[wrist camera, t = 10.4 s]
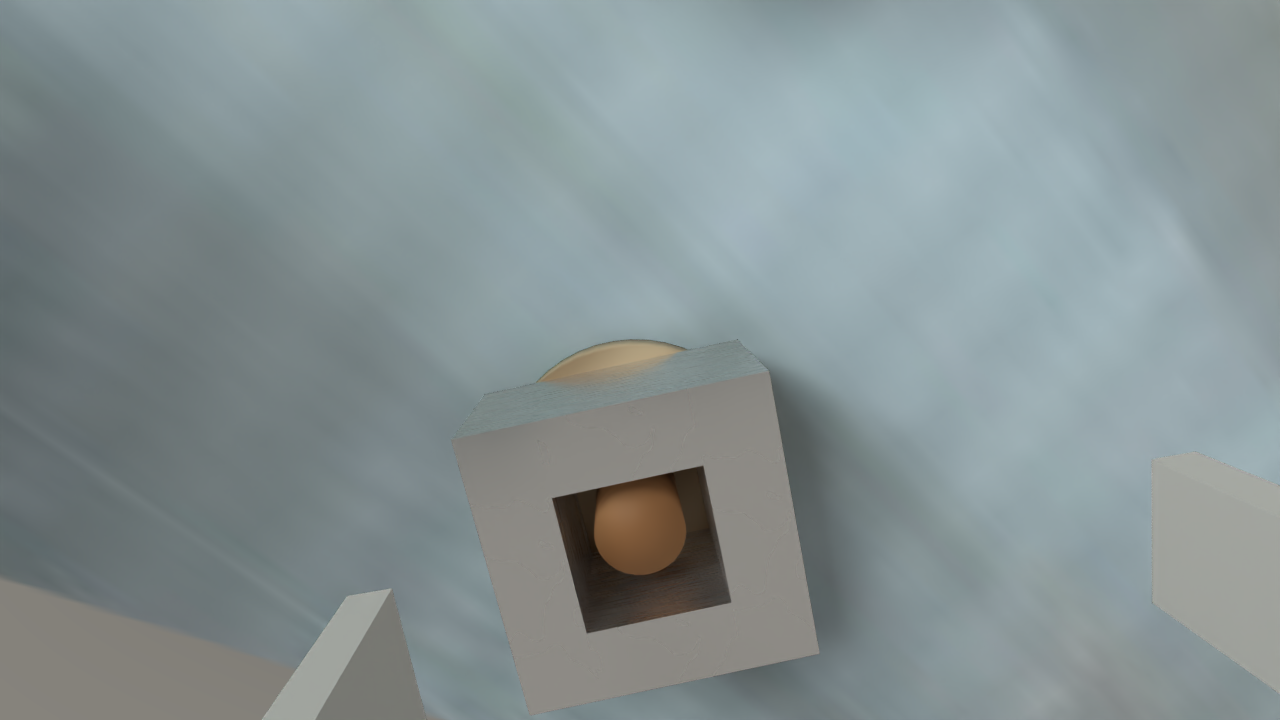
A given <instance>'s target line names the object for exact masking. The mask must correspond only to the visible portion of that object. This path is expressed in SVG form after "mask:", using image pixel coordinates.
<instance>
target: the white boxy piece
mask: <svg viewBox="0 0 1280 720" xmlns="http://www.w3.org/2000/svg"><path fill="white" fill-rule="evenodd" d="M451 441H452V445H453V448H454V452H455V455H456V459H457V462H458V466H459V469H460V473H461V476H462V480H463V483H464V487H465V490H466V494H467V497H468V501H469V504H470V508H471V511H472V515H473V518H474V522H475V525H476V529H477V532H478V536H479V539H480V543H481V546H482V550H483V553H484V557H485V560H486V564H487V567H488V571H489V574H490V578H491V581H492V585H493V588H494V592H495V595H496V599H497V602H498V606H499V609H500V613H501V616H502V620H503V623H504V627H505V630H506V634H507V637H508V641H509V644H510V648H511V651H512V655H513V658H514V662H515V665H516V669H517V672H518V676H519V679H520V683H521V686H522V690H523V693H524V697H525V700H526V704H527V707H528V711H529V714H530V715H535V714H539V713H544V712H549V711H553V710H558V709H563V708H568V707H572V706H577V705H582V704H586V703H591V702H596V701H600V700H605V699H610V698H614V697H619V696H624V695H629V694H633V693H638V692H643V691H647V690H652V689H657V688H661V687H666V686H671V685H675V684H680V683H685V682H690V681H694V680H699V679H704V678H708V677H713V676H718V675H722V674H727V673H732V672H736V671H741V670H746V669H751V668H755V667H760V666H765V665H769V664H774V663H779V662H783V661H788V660H793V659H797V658H802V657H807V656H812V655H816V654H820V653H819V647H818V641H817V636H816V630H815V625H814V619H813V613H812V608H811V602H810V597H809V591H808V585H807V580H806V574H805V569H804V563H803V557H802V552H801V546H800V541H799V535H798V529H797V524H796V518H795V513H794V507H793V501H792V496H791V490H790V485H789V479H788V473H787V468H786V462H785V457H784V451H783V445H782V440H781V434H780V429H779V423H778V418H777V412H776V406H775V401H774V395H773V390H772V384H771V378H770V373H769V370H768V369H767V368H766V367H765V366H764V365H763V364H762V363H761V362H760V361H759V360H758V359H757V358H756V357H755V356H754V355H753V354H752V353H751V352H750V351H749V350H748V349H747V348H746V347H745V346H744V345H743V344H742V343H741V342H740V341H739V340H738V339H737V340H732V341H728V342H723V343H718V344H714V345H709V346H705V347H700V348H695V349H691V350H686V351H681V352H677V353H672V354H668V355H663V356H658V357H654V358H649V359H645V360H640V361H635V362H631V363H626V364H622V365H617V366H612V367H608V368H603V369H599V370H594V371H589V372H585V373H580V374H575V375H571V376H566V377H562V378H557V379H552V380H548V381H543V382H539V383H534V384H529V385H525V386H520V387H516V388H511V389H506V390H502V391H497V392H493V393H488V394H484V396H483V397H482V398H481V400H480V401H479V403H478V404H477V405H476V407H475V408H474V409H473V411H472V412H471V413H470V415H469V416H468V418H467V419H466V420H465V422H464V423H463V424H462V426H461V427H460V428H459V430H458V431H457V432H456V434H455V435H454V437H453V438H452V439H451ZM694 467H696V468H697V473H698V478H699V482H700V487H701V492H702V497H703V502H704V507H705V511H706V516H707V521H708V526H709V528H706V529H701V530H697V531H692V532H687V533H686V538H685V543H684V546H683V548H682V550H681V552H680V554H679V555H678V557H677V558H676V559H675V560H674V561H673V562H672V563H671V564H670V565H668V566H667V567H665V568H664V569H662V570H660V571H657V572H655V573H651V574H646V575H633V574H628V573H624V572H621V571H619V570H617V569H615V568H613V567H612V566H611V565H609V564H608V563H607V562H606V561H605V560H604V559H603V557H602V556H601V555H600V553H599V552H594V553H592V551H591V547H590V542H589V538H588V534H587V530H586V526H585V522H584V518H583V514H582V510H581V506H580V502H579V498H578V494H577V493H578V492H583V491H587V490H592V489H597V488H601V487H606V486H611V485H615V484H620V483H625V482H629V481H634V480H638V479H643V478H648V477H652V476H657V475H662V474H666V473H671V472H676V471H680V470H685V469H689V468H694Z"/></svg>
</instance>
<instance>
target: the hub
mask: <svg viewBox="0 0 1280 720" xmlns="http://www.w3.org/2000/svg"><path fill="white" fill-rule="evenodd" d="M686 350H687V349H684V348H682V347H679V346H675V345H672V344H668V343H665V342H658V341H652V340H632V339H630V340H620V341H612V342H607V343H603V344H599V345H595V346H592V347H590V348H587V349H584V350H582V351H579V352H577V353H575V354H573V355H571V356H570V357H568V358H566V359H564V360H562V361H561V362H560V363H558V364H557V365H555V366H554V367H553V368H551V369H550V370H549V371H548V372H546V373H545V374H544V375H543V376H542V377H541V378H540V379H539V380H538V381H537V382H536V383H539V382H543V381H548V380H552V379H557V378H562V377H566V376H571V375H575V374H580V373H585V372H589V371H594V370H599V369H603V368H608V367H612V366H617V365H622V364H626V363H631V362H635V361H640V360H645V359H649V358H654V357H658V356H663V355H668V354H672V353H677V352H681V351H686ZM577 494H578V498H579V502H580V506H581V510H582V514H583V518H584V522H585V526H586V530H587V534H588V538H589V542H590V547H591V551H592V553H594V552H599V553H600V555H601V556H602V557H603V559H604V560H605V561H606V562H607V563H608V564H609V565H611V566H612V567H613V568H615V569H617V570H619V571H621V572H624V573H628V574H633V575H646V574H651V573H655V572H657V571H660V570H662V569H664V568H665V567H667V566H668V565H670V564H671V563H672V562H673V561H674V560H675V559H676V558H677V557H678V555H679V554H680V552H681V550H682V548H683V546H684V543H685V538H686V533H687V532H692V531H697V530H701V529H706V528H709V526H708V521H707V516H706V511H705V507H704V502H703V497H702V492H701V487H700V482H699V478H698V473H697V468H696V467H694V468H689V469H685V470H680V471H676V472H671V473H666V474H662V475H657V476H652V477H648V478H643V479H638V480H634V481H629V482H625V483H620V484H615V485H611V486H606V487H601V488H597V489H592V490H587V491H583V492H578V493H577Z"/></svg>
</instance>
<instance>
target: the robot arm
mask: <svg viewBox="0 0 1280 720" xmlns="http://www.w3.org/2000/svg"><path fill="white" fill-rule="evenodd" d="M1152 603H1153V604H1155V605H1156V606H1157V607H1159V608H1160V609H1162V610H1163V611H1164V612H1166V613H1167V614H1169V615H1170V616H1171V617H1173V618H1174V619H1176V620H1177V621H1178V622H1180V623H1181V624H1183V625H1184V626H1185V627H1187V628H1188V629H1190V630H1191V631H1192V632H1194V633H1195V634H1197V635H1198V636H1199V637H1201V638H1202V639H1204V640H1205V641H1206V642H1208V643H1209V644H1211V645H1212V646H1213V647H1215V648H1216V649H1218V650H1219V651H1220V652H1222V653H1223V654H1225V655H1226V656H1227V657H1229V658H1230V659H1232V660H1233V661H1234V662H1236V663H1237V664H1239V665H1240V666H1241V667H1243V668H1244V669H1246V670H1247V671H1248V672H1250V673H1251V674H1253V675H1254V676H1255V677H1257V678H1258V679H1260V680H1261V681H1262V682H1264V683H1265V684H1267V685H1268V686H1269V687H1271V688H1272V689H1274V690H1275V691H1276V692H1278V693H1279V694H1280V486H1279V485H1277V484H1274V483H1272V482H1269V481H1267V480H1264V479H1262V478H1260V477H1257V476H1255V475H1252V474H1250V473H1247V472H1245V471H1242V470H1240V469H1237V468H1235V467H1232V466H1230V465H1227V464H1225V463H1222V462H1220V461H1217V460H1215V459H1212V458H1210V457H1207V456H1205V455H1202V454H1200V453H1198V452H1191V453H1185V454H1179V455H1173V456H1167V457H1161V458H1156V459H1152ZM262 720H427V719H426V715H425V712H424V708H423V704H422V700H421V697H420V693H419V689H418V685H417V681H416V678H415V674H414V670H413V666H412V663H411V659H410V655H409V651H408V647H407V644H406V640H405V636H404V632H403V628H402V625H401V621H400V617H399V613H398V610H397V606H396V602H395V598H394V594H393V591H392V589H386V590H380V591H374V592H368V593H362V594H356V595H350V596H347V597H346V598H345V600H344V601H343V603H342V604H341V606H340V607H339V609H338V610H337V611H336V613H335V614H334V616H333V617H332V619H331V620H330V622H329V623H328V624H327V626H326V627H325V629H324V630H323V632H322V633H321V635H320V636H319V637H318V639H317V640H316V642H315V643H314V645H313V646H312V648H311V649H310V650H309V652H308V653H307V655H306V656H305V658H304V659H303V661H302V662H301V663H300V665H299V666H298V668H297V669H296V671H295V672H294V674H293V675H292V677H291V678H290V680H289V681H288V682H287V684H286V685H285V687H284V688H283V690H282V691H281V692H280V694H279V695H278V697H277V698H276V700H275V701H274V703H273V704H272V705H271V707H270V708H269V710H268V711H267V713H266V714H265V716H264V717H263V718H262Z"/></svg>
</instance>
